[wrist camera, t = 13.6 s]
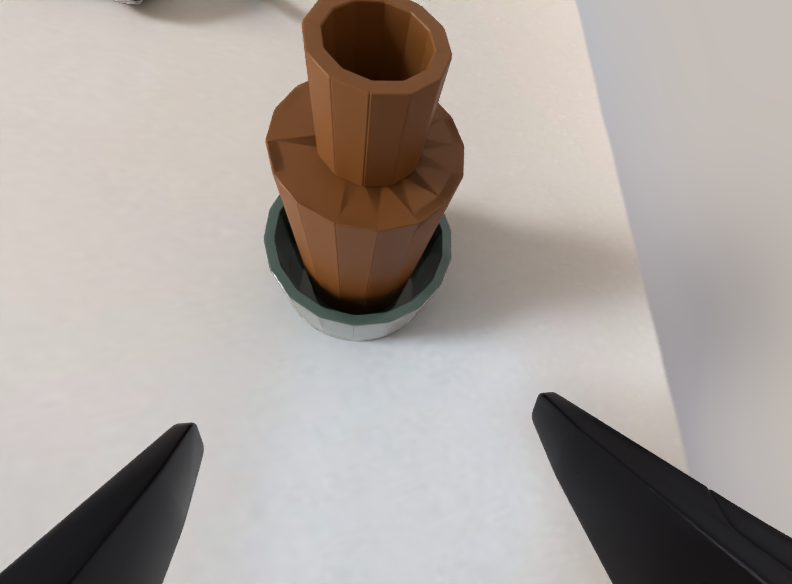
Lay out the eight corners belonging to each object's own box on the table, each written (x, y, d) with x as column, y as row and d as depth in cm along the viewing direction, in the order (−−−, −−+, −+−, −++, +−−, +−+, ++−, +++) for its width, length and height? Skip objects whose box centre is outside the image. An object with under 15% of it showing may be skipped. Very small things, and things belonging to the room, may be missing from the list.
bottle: (427, 276, 19) (561, 78, 7) (349, 336, 18) (352, 205, 5) (368, 207, 20) (397, -74, 8) (287, 256, 19) (171, -9, 6)
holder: (448, 240, 21) (473, 200, 17) (397, 367, 18) (412, 358, 14) (326, 185, 21) (321, 131, 17) (254, 303, 18) (224, 275, 14)
